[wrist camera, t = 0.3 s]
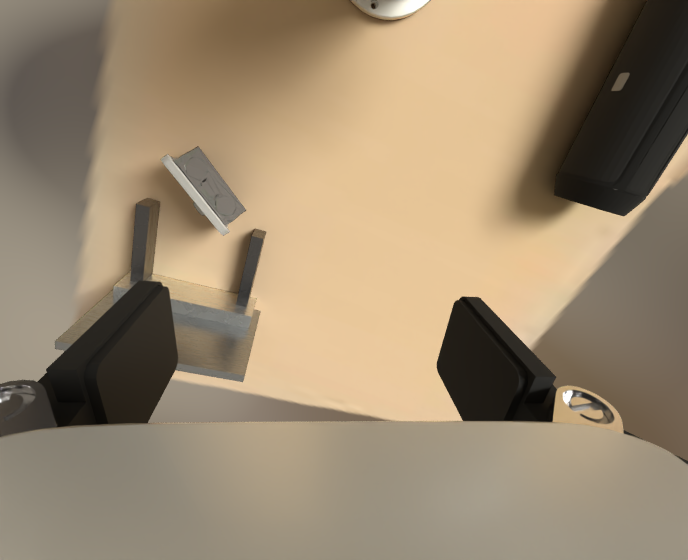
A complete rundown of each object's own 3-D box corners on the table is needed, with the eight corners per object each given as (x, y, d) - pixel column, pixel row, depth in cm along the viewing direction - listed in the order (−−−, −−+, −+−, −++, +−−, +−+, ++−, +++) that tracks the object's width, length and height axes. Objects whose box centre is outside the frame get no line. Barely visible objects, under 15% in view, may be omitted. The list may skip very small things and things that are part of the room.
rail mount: (130, 193, 41) (51, 226, 28) (280, 235, 45) (270, 281, 33) (123, 285, 46) (55, 348, 34) (259, 316, 50) (242, 382, 38)
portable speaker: (647, -47, 35) (760, -101, 27) (715, -13, 37) (842, -54, 29) (531, 188, 46) (585, 205, 37) (589, 205, 48) (653, 225, 39)
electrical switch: (172, 161, 40) (144, 168, 31) (207, 137, 40) (188, 138, 31) (223, 225, 44) (210, 246, 36) (255, 203, 44) (250, 220, 35)
